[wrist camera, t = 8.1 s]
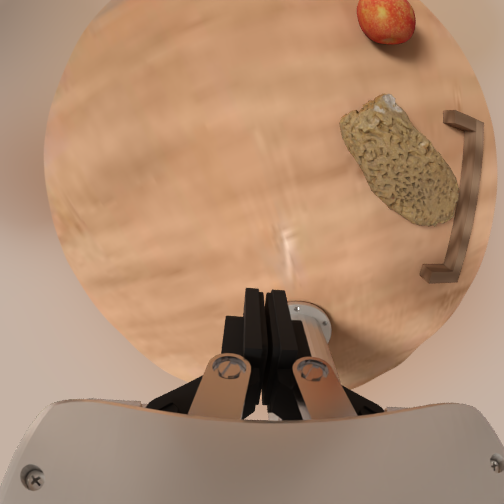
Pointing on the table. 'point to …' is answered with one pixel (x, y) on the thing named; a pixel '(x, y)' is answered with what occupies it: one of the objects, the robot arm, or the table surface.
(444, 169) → the sponge
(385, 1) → the apple
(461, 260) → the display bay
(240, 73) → the table surface
